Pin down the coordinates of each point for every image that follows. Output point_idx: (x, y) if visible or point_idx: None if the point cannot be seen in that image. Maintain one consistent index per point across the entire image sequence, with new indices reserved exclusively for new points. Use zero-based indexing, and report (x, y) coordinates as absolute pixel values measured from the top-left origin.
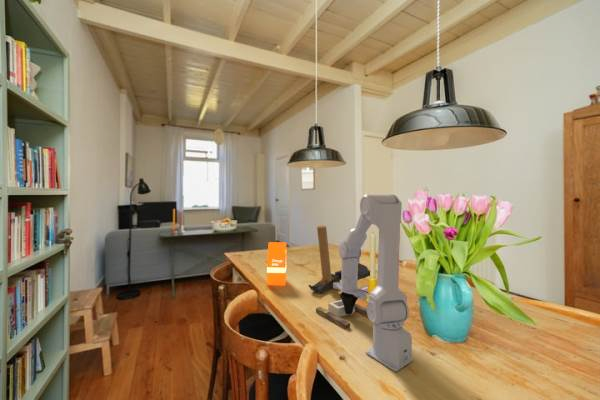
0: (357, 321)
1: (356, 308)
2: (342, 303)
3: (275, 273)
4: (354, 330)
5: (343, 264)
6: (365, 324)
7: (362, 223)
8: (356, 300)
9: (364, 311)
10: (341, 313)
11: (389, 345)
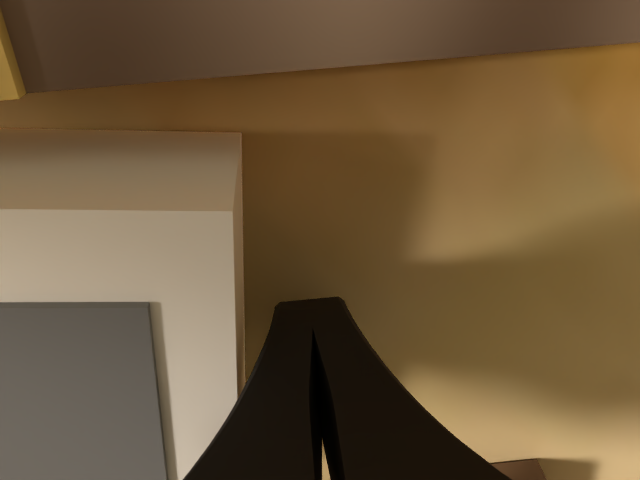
0: (499, 297)
1: (206, 71)
2: (94, 427)
3: None
4: (610, 451)
5: None
6: (635, 261)
7: None
8: (486, 470)
9: (448, 53)
10: None
11: None
